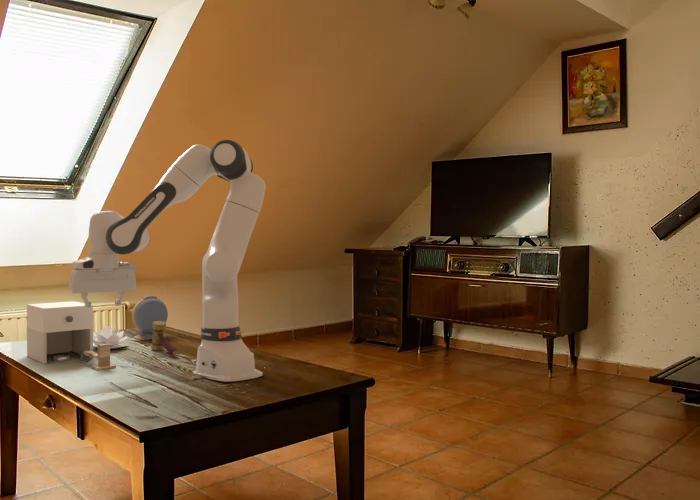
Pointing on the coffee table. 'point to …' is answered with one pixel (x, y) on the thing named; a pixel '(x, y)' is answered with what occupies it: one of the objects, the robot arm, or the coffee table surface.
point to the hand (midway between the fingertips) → (103, 306)
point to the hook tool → (99, 357)
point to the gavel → (161, 339)
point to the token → (61, 357)
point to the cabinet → (58, 329)
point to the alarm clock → (148, 316)
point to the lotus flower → (108, 338)
